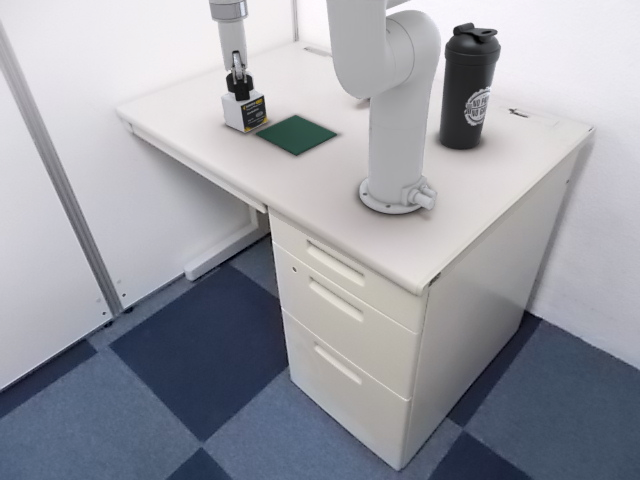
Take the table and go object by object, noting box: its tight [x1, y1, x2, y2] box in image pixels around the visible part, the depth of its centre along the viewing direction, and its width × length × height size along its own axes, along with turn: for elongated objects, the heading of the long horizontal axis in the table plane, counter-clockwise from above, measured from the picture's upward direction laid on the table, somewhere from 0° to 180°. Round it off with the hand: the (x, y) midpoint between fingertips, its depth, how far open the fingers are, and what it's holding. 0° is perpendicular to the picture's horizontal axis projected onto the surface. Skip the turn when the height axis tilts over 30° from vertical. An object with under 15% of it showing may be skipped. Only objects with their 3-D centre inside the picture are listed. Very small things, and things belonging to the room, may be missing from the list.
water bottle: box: [438, 22, 502, 151], centre depth 98 cm, size 10×10×23 cm
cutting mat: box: [255, 114, 338, 156], centre depth 111 cm, size 14×12×1 cm
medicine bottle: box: [220, 70, 268, 134], centre depth 112 cm, size 7×7×12 cm
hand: (241, 92), depth 111 cm, fingers closed on medicine bottle, 6 cm apart
